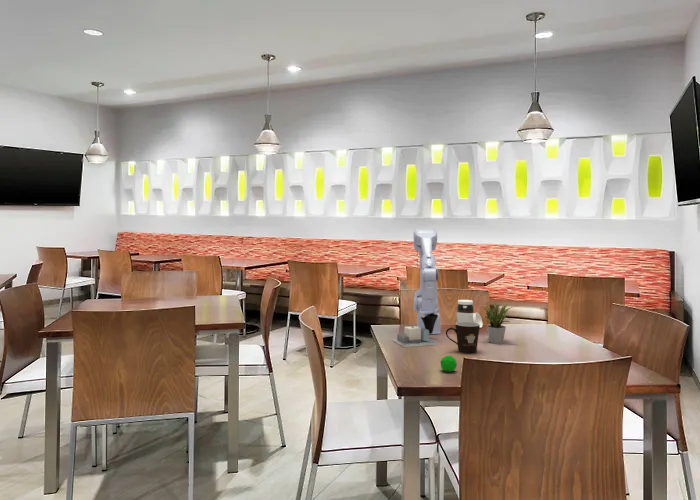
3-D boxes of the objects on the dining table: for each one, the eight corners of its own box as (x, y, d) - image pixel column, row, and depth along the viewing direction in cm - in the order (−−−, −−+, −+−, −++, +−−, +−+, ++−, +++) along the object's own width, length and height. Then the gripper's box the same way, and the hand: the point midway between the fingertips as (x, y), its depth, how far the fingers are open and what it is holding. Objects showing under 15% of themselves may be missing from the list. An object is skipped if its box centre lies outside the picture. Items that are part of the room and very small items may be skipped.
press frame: (424, 338, 210) (424, 331, 210) (438, 344, 198) (438, 337, 198) (392, 340, 206) (392, 333, 206) (404, 347, 194) (404, 339, 194)
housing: (416, 338, 204) (416, 325, 204) (420, 341, 200) (421, 327, 200) (404, 339, 203) (404, 326, 203) (409, 341, 199) (409, 328, 199)
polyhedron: (439, 372, 160) (439, 357, 160) (441, 368, 165) (442, 353, 165) (455, 374, 159) (455, 358, 159) (457, 370, 163) (457, 355, 163)
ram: (421, 336, 206) (421, 326, 206) (428, 340, 200) (428, 330, 200) (416, 337, 206) (416, 327, 206) (424, 340, 199) (424, 330, 199)
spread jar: (455, 324, 241) (456, 299, 241) (480, 324, 240) (480, 299, 239) (457, 328, 229) (457, 302, 229) (483, 329, 228) (484, 303, 227)
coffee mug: (480, 349, 190) (480, 322, 190) (478, 355, 182) (478, 327, 182) (448, 347, 194) (448, 320, 193) (445, 352, 186) (445, 325, 185)
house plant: (520, 340, 206) (521, 299, 205) (516, 347, 193) (516, 304, 193) (484, 337, 212) (484, 297, 211) (477, 344, 199) (478, 301, 199)
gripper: (427, 295, 211) (427, 328, 212) (411, 299, 199) (411, 335, 200) (444, 297, 207) (443, 330, 208) (428, 301, 195) (428, 337, 196)
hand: (429, 333), depth 204 cm, fingers closed
